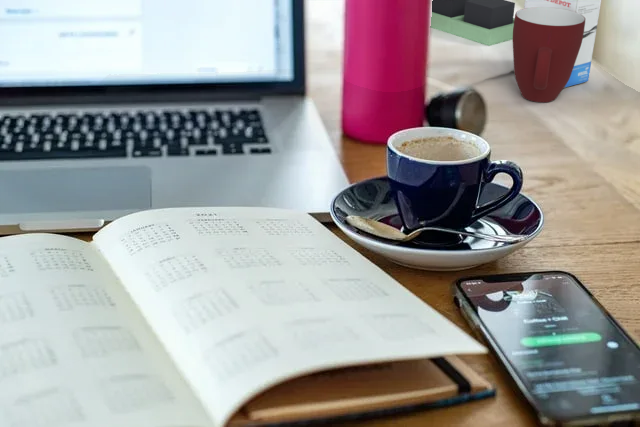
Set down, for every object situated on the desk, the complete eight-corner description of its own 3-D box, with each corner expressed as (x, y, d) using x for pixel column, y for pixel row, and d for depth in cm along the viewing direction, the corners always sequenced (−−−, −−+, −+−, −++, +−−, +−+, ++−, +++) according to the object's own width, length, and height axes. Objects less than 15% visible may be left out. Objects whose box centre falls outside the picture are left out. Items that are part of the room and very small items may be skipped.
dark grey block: (485, 25, 131) (488, -5, 129) (511, 33, 128) (515, 2, 126) (462, 31, 128) (465, 0, 126) (488, 39, 125) (492, 8, 123)
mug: (579, 119, 101) (593, 34, 97) (507, 114, 102) (518, 30, 97) (568, 87, 110) (581, 8, 106) (503, 83, 111) (513, 5, 107)
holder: (410, 24, 134) (411, 7, 133) (447, 15, 139) (448, -1, 137) (488, 49, 124) (490, 31, 122) (525, 39, 128) (527, 21, 127)
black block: (447, 15, 136) (450, -14, 134) (472, 23, 133) (475, -7, 131) (425, 21, 134) (427, -9, 131) (449, 29, 130) (452, -2, 128)
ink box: (590, 82, 112) (605, -11, 107) (563, 89, 110) (578, -5, 104) (540, 63, 119) (552, -25, 113) (514, 70, 116) (525, -20, 111)
